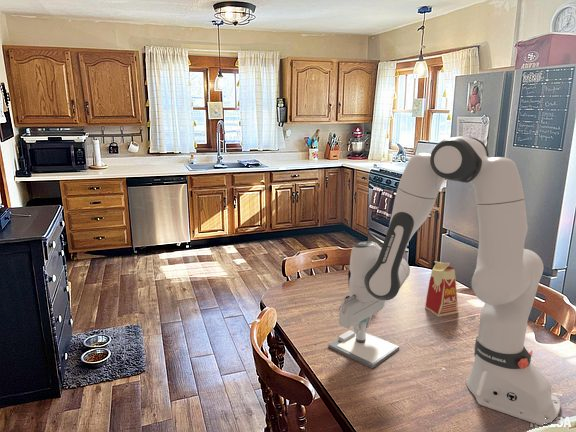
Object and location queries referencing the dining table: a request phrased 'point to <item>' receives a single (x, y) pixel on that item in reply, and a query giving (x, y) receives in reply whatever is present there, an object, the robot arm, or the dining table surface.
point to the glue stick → (362, 332)
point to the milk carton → (442, 290)
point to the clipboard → (364, 348)
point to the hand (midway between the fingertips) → (361, 330)
